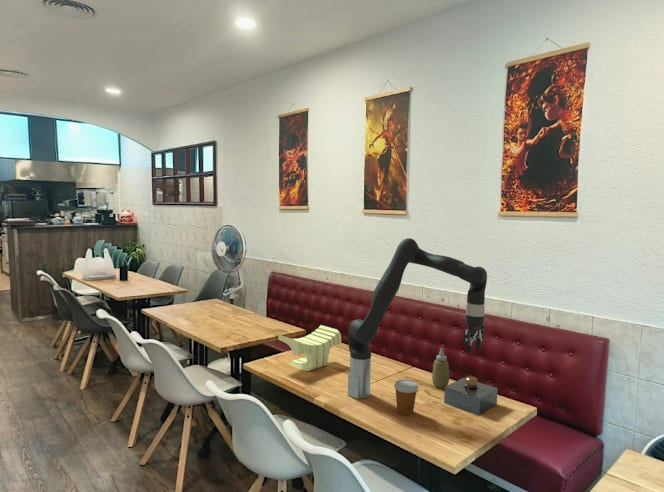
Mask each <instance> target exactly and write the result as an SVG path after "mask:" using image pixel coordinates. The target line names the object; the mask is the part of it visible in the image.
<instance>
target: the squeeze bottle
mask: <svg viewBox="0 0 664 492" xmlns="http://www.w3.org/2000/svg"><path fill="white" fill-rule="evenodd" d="M435 358H436V359H435V360H434V361H433V367H432V374H431V379H432V383H433V386H434V387H435V388H438V389H445V387H446V386H448V385H449V382H450V369H449V366H450V365H449V361H448V360H447V356H446V355H445V353H444V348H440V349H439V354H438V355H436V357H435Z"/></svg>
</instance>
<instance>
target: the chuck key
mask: <svg viewBox="0 0 664 492" xmlns="http://www.w3.org/2000/svg"><path fill="white" fill-rule="evenodd" d="M465 378H466V379H465V388H467V389H470V390H473V391H475V390H476V389H477V382H478V378H477V377H475V376H471V375H470V376H465Z"/></svg>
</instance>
